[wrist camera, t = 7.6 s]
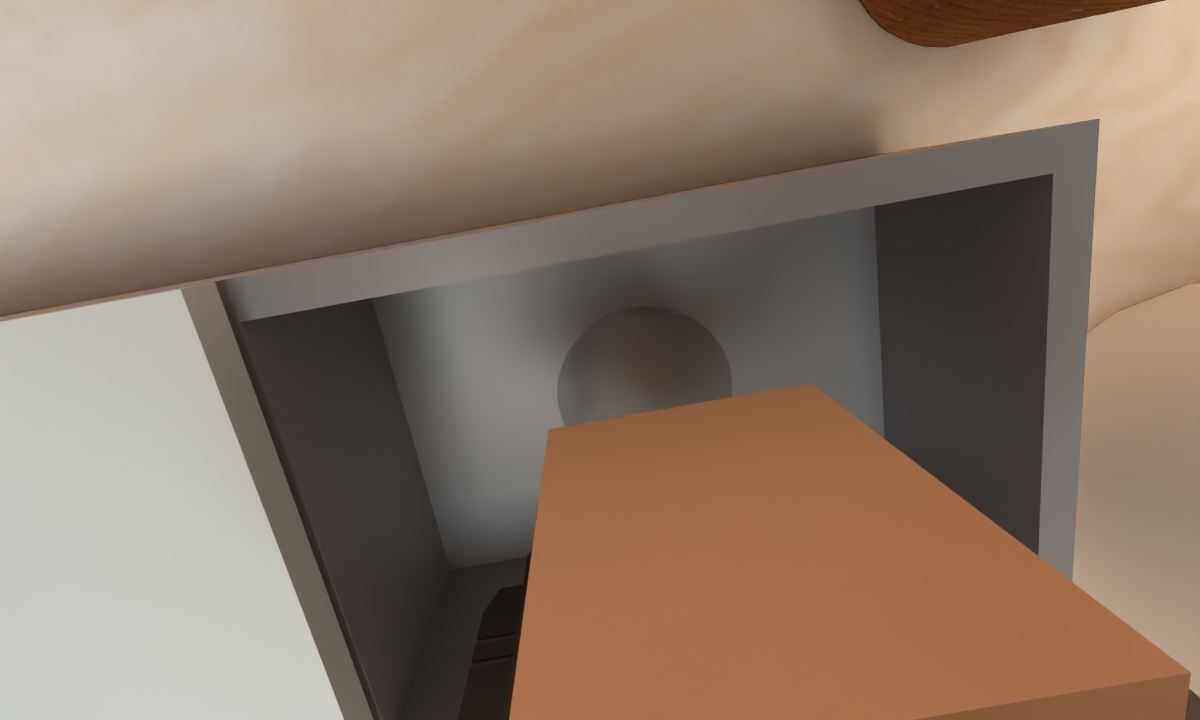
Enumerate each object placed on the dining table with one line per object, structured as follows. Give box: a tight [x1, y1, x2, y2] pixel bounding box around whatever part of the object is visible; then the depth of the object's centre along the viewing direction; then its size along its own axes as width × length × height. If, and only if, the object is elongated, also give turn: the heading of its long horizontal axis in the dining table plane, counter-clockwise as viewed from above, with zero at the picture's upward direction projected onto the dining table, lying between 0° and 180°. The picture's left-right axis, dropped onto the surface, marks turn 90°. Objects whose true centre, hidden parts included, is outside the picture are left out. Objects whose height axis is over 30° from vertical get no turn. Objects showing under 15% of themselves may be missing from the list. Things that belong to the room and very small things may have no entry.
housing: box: [0, 119, 1099, 720], centre depth 15 cm, size 12×35×8 cm, turn 100°
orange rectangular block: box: [509, 383, 1191, 720], centre depth 7 cm, size 6×4×7 cm
